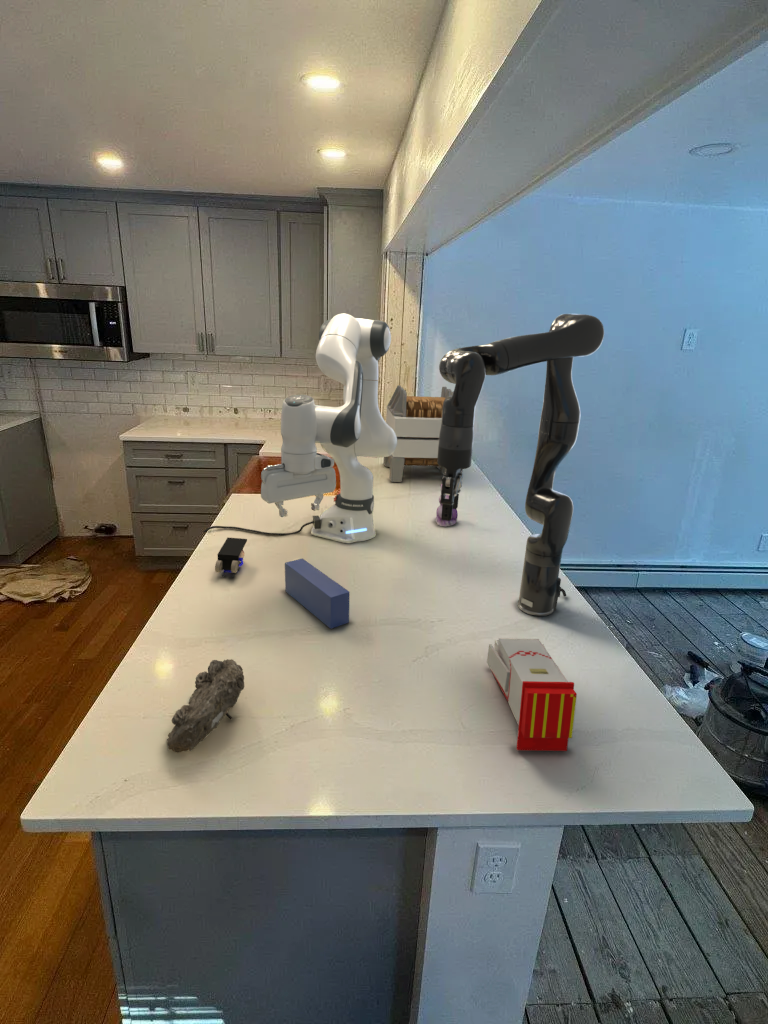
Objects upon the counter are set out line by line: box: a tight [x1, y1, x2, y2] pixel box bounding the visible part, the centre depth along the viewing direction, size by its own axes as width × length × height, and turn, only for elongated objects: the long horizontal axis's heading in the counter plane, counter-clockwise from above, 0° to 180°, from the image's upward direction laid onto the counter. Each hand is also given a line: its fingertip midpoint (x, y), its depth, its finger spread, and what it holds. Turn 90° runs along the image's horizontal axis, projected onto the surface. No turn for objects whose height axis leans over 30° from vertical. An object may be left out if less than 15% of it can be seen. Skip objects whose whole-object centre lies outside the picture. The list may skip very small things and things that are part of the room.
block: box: [284, 558, 351, 630], centre depth 148 cm, size 23×6×9 cm, turn 38°
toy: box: [486, 637, 578, 752], centre depth 114 cm, size 12×13×30 cm
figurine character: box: [214, 537, 248, 578], centre depth 166 cm, size 7×8×15 cm
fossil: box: [166, 658, 245, 754], centre depth 106 cm, size 22×10×15 cm
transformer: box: [383, 384, 454, 483], centre depth 268 cm, size 34×33×41 cm
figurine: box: [434, 483, 459, 527], centre depth 210 cm, size 9×10×15 cm
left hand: (299, 513), depth 147 cm, fingers open, 8 cm apart
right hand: (449, 513), depth 130 cm, fingers open, 8 cm apart
